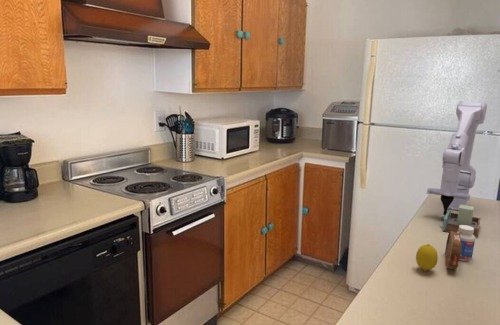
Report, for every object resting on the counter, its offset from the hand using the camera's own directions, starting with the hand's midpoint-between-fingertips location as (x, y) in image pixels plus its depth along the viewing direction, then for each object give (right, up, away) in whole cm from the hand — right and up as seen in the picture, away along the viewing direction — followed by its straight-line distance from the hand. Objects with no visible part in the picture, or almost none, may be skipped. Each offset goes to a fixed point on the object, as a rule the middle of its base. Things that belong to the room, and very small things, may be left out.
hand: (445, 214), depth 151 cm
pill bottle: (-10, -9, -31) cm, 34 cm away
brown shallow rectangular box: (+2, -4, -9) cm, 10 cm away
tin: (-16, -10, -35) cm, 39 cm away
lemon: (-25, -11, -40) cm, 48 cm away
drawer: (+1, -3, -8) cm, 9 cm away
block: (+2, -3, -10) cm, 11 cm away
